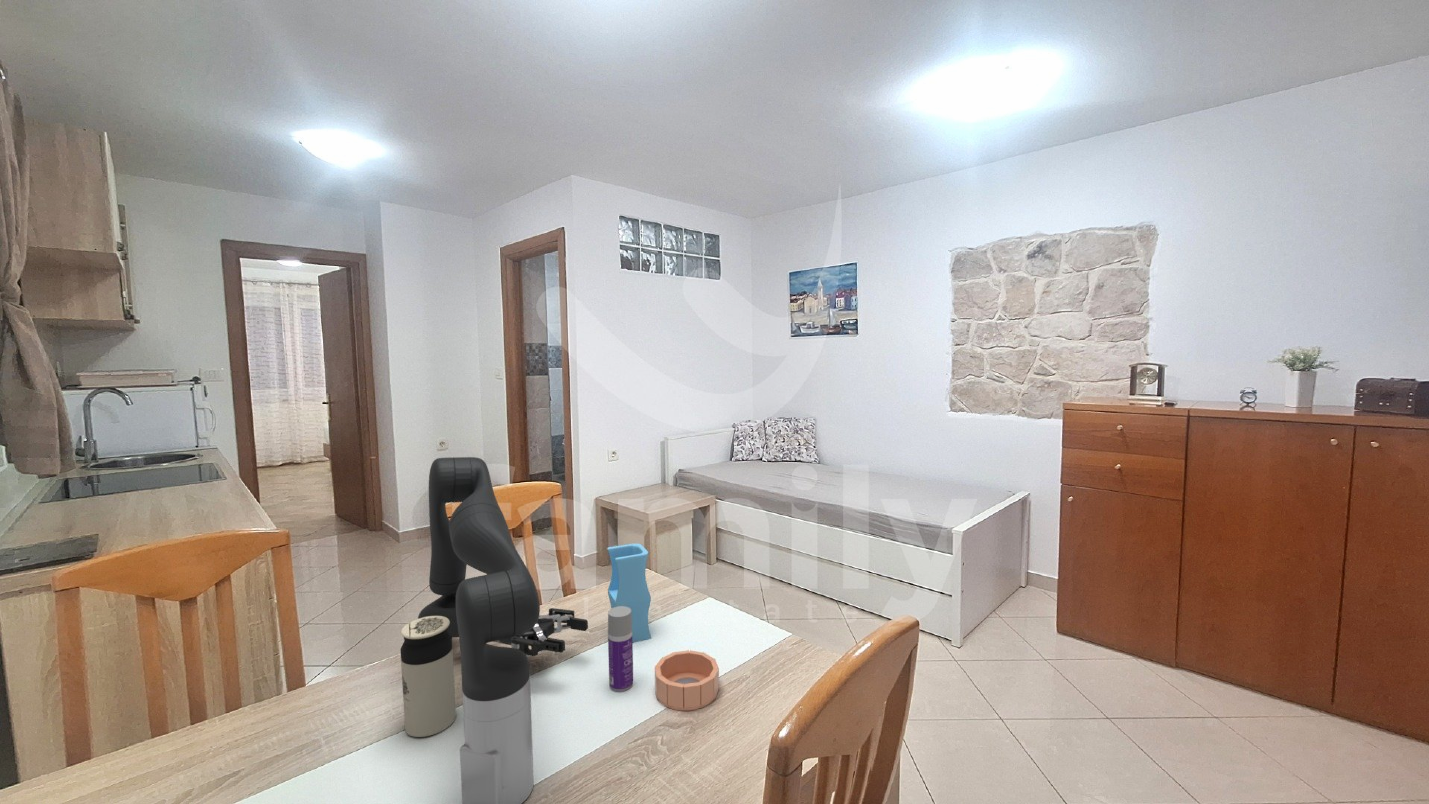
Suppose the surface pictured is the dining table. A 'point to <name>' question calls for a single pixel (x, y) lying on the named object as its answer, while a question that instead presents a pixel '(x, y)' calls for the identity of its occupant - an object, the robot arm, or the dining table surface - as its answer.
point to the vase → (631, 586)
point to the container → (620, 648)
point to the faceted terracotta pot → (686, 680)
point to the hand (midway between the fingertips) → (576, 635)
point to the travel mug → (427, 676)
